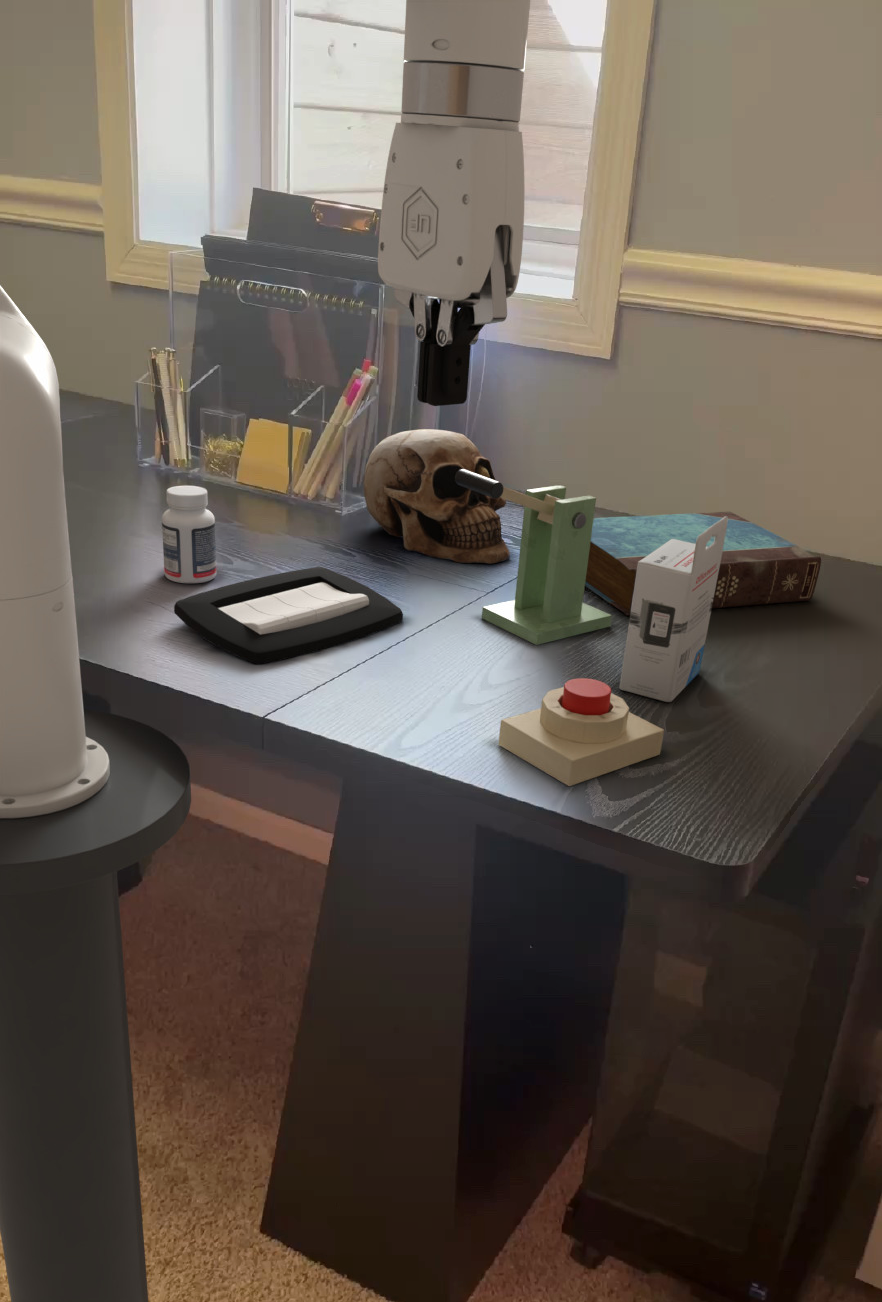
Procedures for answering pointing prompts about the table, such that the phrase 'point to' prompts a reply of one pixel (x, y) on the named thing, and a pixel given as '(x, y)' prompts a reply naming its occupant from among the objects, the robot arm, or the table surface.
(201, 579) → the pill bottle
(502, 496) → the lever
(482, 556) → the human skull model
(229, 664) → the table surface
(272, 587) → the light switch
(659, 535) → the book
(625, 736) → the button box
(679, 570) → the ink box
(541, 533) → the bracket
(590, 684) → the button
